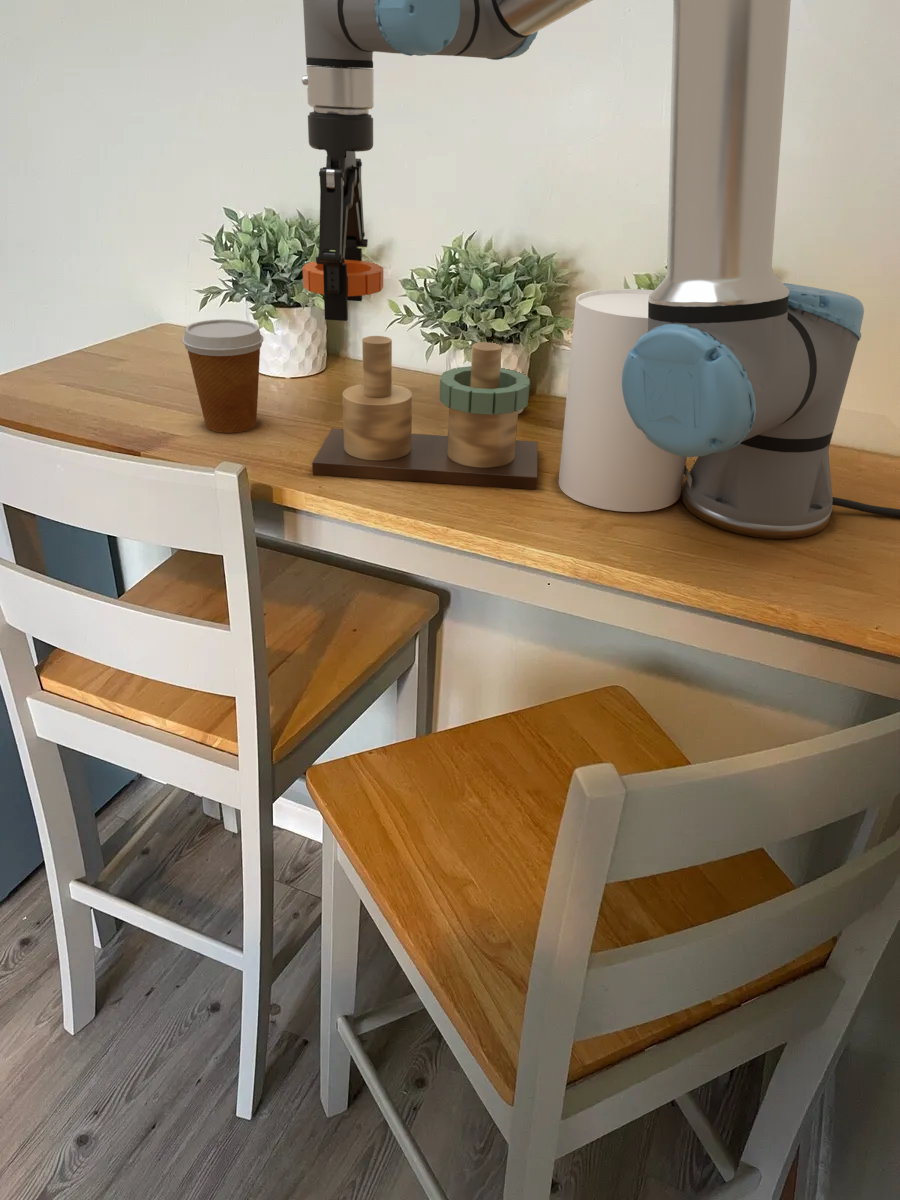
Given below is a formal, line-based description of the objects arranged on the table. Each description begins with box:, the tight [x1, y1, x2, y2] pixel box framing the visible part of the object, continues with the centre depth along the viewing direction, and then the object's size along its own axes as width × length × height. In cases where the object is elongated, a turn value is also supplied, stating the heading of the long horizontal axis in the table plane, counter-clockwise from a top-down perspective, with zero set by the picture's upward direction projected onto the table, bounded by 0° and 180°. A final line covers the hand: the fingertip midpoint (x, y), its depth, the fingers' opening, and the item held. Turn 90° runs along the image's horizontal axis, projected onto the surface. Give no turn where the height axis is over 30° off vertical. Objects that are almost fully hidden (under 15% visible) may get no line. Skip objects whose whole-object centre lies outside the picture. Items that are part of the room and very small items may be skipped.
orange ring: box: [302, 260, 384, 297], centre depth 113 cm, size 10×10×2 cm
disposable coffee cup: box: [181, 318, 264, 434], centre depth 110 cm, size 10×10×12 cm
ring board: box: [311, 335, 538, 491], centre depth 101 cm, size 25×11×14 cm, turn 85°
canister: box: [558, 288, 688, 513], centre depth 95 cm, size 14×14×20 cm
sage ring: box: [439, 365, 531, 415], centre depth 99 cm, size 10×10×2 cm
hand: (344, 309), depth 115 cm, fingers closed on orange ring, 10 cm apart
